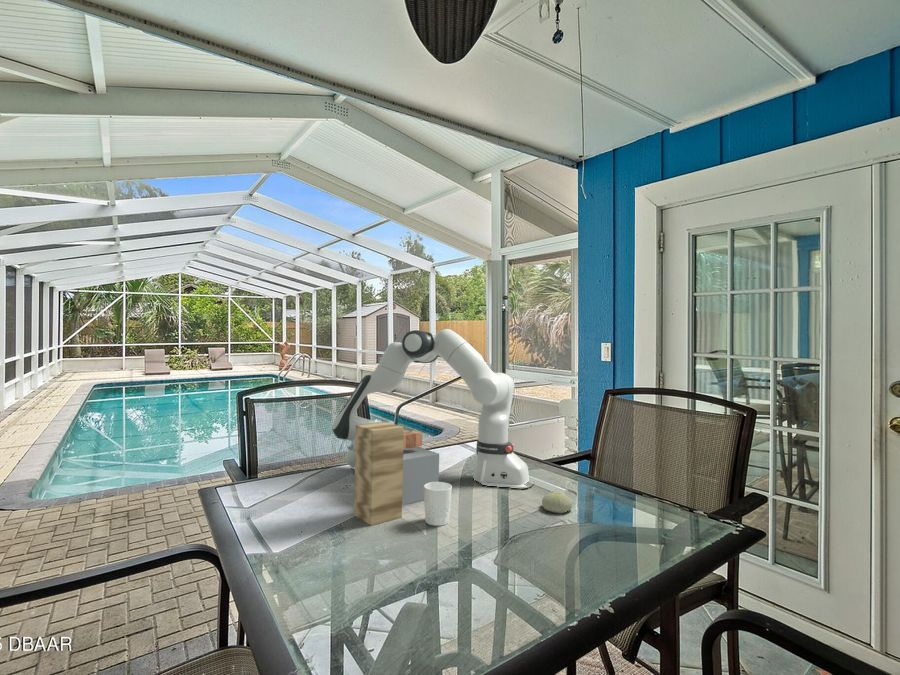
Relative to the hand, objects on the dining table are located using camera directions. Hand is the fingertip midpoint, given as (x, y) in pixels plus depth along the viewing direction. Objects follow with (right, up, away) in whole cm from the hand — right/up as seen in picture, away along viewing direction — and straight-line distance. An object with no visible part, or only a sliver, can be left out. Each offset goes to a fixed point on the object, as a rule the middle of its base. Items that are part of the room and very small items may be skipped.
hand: (389, 432), depth 164 cm
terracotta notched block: (+3, -3, -4) cm, 6 cm away
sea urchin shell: (+54, -20, -18) cm, 60 cm away
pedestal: (0, -19, -27) cm, 33 cm away
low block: (+5, -19, -7) cm, 21 cm away
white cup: (+17, -19, -30) cm, 40 cm away
